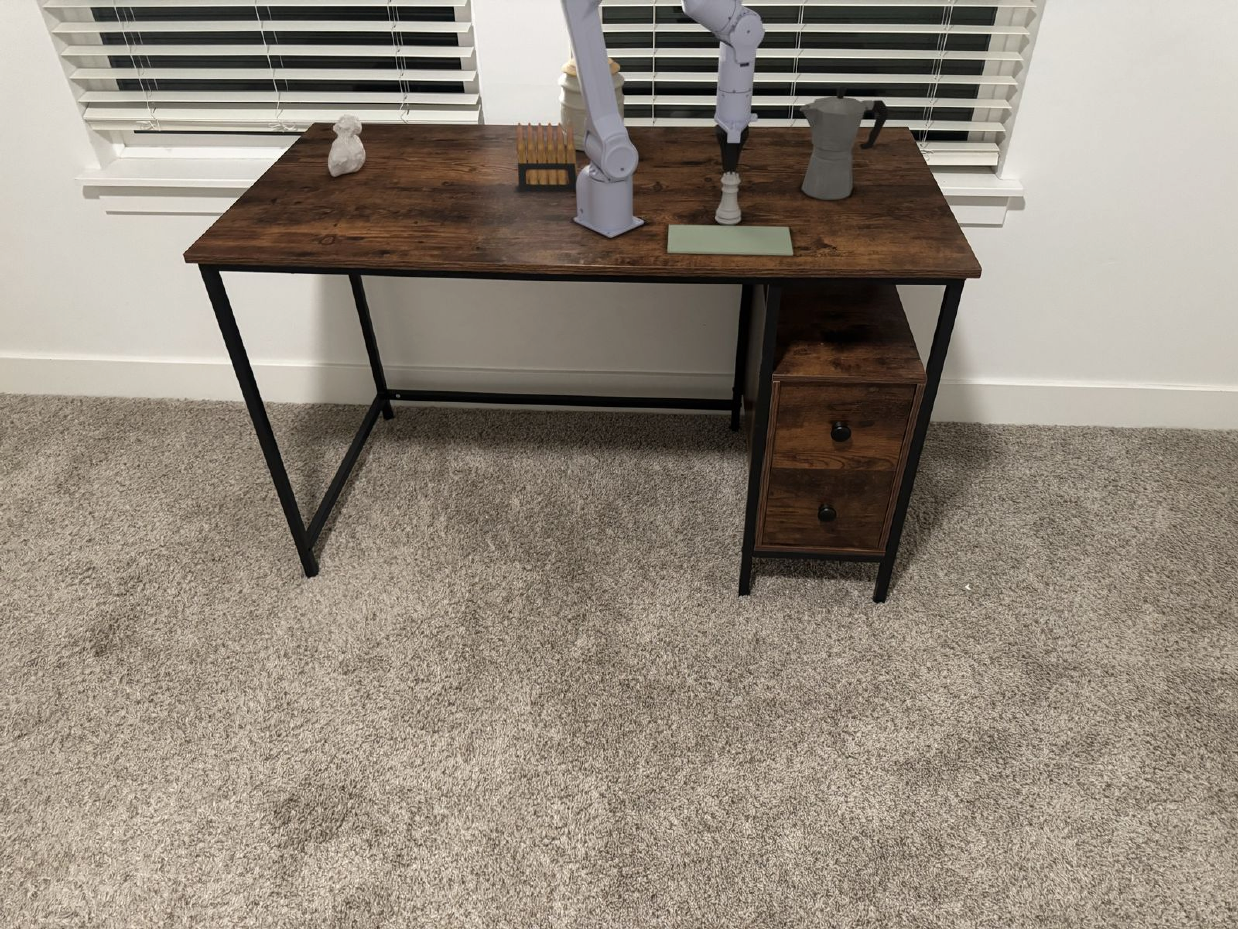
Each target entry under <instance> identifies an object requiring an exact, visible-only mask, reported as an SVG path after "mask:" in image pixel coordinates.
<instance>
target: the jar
mask: <svg viewBox="0 0 1238 929" xmlns="http://www.w3.org/2000/svg"><path fill="white" fill-rule="evenodd" d="M608 61H609V66H610V70H611V75H612V80H613V85H614V90H615V95H616V100H617V105H618V109H619V114H620V116H621V118H622V121H623V123H624V124H625V95H624V93H623V86H624V84H625V78H624V76H623V75H622V74H621V73H619V71H620V70H621V66H620V64H619V63H617V62H616V61H614V60H613V59H612V58H611V57H609V56H608ZM561 71H562V73H563V74H562V75H561V76H560V77H559V78H558V80H557V83H558V85H559V87H561V90H560V91H561V92H560V96H559V98H558V100H559V108H560V124H561V126H562V129H563V136H564V144H565V146H566V144H567V127H568V123H570V124H571V126H572V130H573V138H574V145H575V151H576V150H577V151H582V152H585V151H584V147H583V142H584V137H585V127H584V120H585V119H586V117H587V116H586V111H585V107H584V103H583V98H582V94H581V90H580V85H579V81H578V77H577V72H576V68H575V64H574V59H573V57H571V59H569V61H567V62H566V63H564V64H563V65H562V67H561Z"/></svg>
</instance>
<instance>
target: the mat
mask: <svg viewBox="0 0 1238 929" xmlns="http://www.w3.org/2000/svg"><path fill="white" fill-rule="evenodd" d="M667 234H668V235H667V252H666V253H667V254H694V255H695V254H698V255H700V254H701V255H702V254H703V255H743V256H745V255H746V256H748V255H750V256H752V255H753V256H794V248H793V243H792V239H791V233H790V228H789V226H765V225H763V226H761V225H760V226H759V225H756V226H755V225H709V224H708V225H707V224H706V225H705V224H704V225H703V224H668V233H667Z"/></svg>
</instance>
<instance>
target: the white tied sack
mask: <svg viewBox="0 0 1238 929" xmlns="http://www.w3.org/2000/svg"><path fill="white" fill-rule="evenodd" d="M332 131H333V132H334V133H335V134H336V135H337V138H335V139H334V141H333V142H332V144H331V148H330V151H329V154H328V158H327V167H328V170H329V172H330V175H331V176H332V177H333V178H336V177H339V176H341V175H345V174H350V173H351V174H352V173H358V171H360V170H361V168H362V167H363V166H364V163H365V162H366V150H365V147H364V144H363V143H362V141H361V138H360V137H359V135H360V134H361V133H362V131H363V126H362V122H361V121H360V119H359V118H358V116H355V115H350V114H346V113H345V114H344V115H343V116H340V117H339V119H338V120H337V122H336V123H335V124H334V125H333V126H332Z"/></svg>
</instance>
